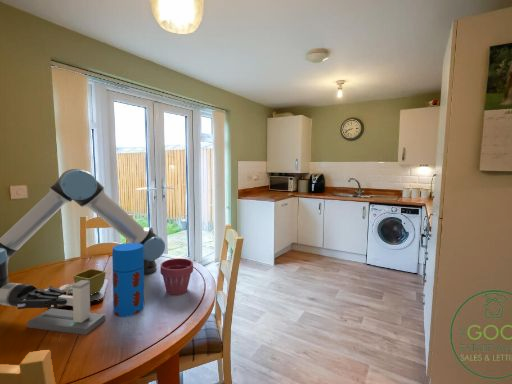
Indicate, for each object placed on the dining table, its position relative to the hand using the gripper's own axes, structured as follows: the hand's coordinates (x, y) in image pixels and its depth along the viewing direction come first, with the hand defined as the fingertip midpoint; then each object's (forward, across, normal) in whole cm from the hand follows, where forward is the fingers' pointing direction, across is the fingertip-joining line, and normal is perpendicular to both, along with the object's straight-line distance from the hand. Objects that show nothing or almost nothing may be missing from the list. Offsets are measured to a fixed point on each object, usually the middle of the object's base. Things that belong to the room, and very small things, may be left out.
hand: (76, 301), depth 93 cm
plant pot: (+22, -31, -9) cm, 39 cm away
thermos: (+11, -13, -9) cm, 19 cm away
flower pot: (-13, -21, -9) cm, 26 cm away
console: (-4, 0, -8) cm, 9 cm away
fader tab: (+2, 0, -6) cm, 6 cm away
